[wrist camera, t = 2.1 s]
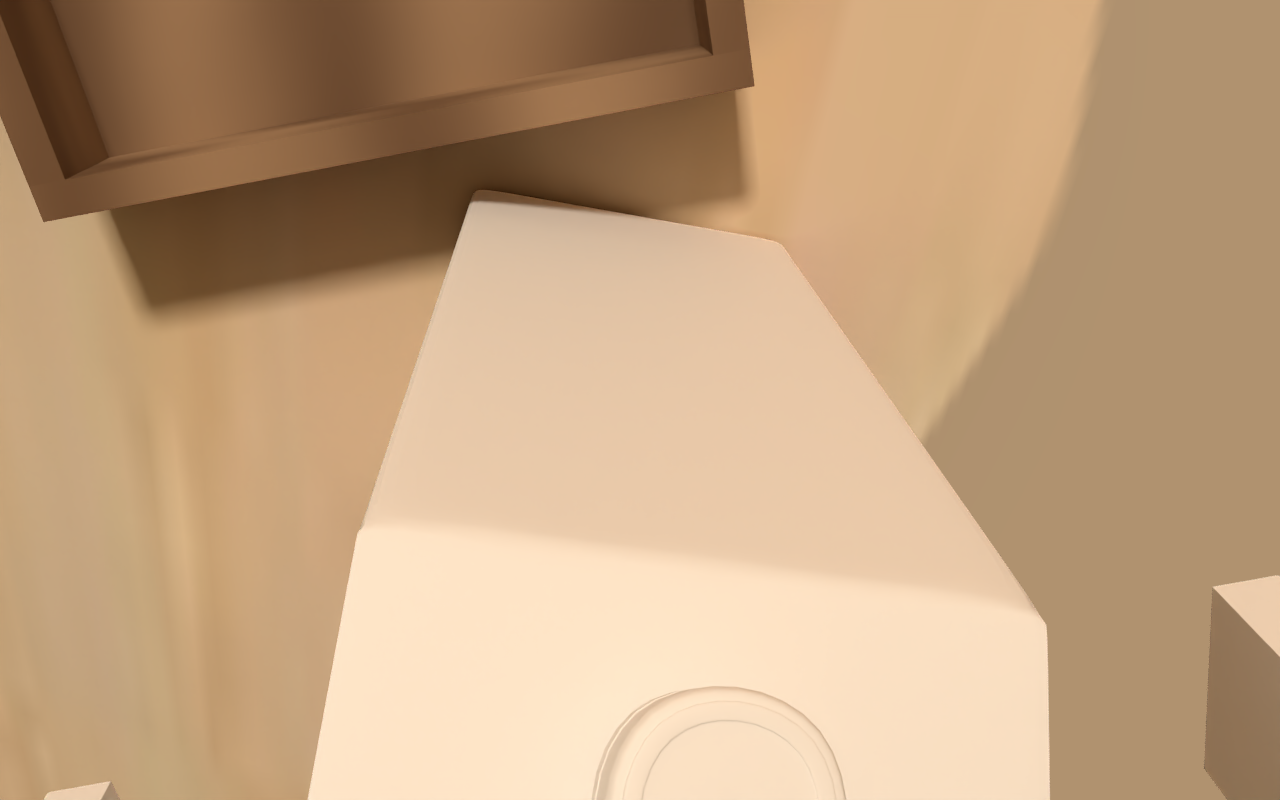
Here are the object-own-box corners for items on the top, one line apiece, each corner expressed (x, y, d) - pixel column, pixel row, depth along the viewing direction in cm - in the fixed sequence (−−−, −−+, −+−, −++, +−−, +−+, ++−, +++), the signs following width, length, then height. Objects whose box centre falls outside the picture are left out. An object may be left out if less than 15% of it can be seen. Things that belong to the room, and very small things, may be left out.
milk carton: (715, 506, 28) (973, 1473, 10) (435, 467, 27) (203, 1460, 9) (782, 239, 25) (1282, 939, 8) (474, 184, 24) (249, 842, 7)
